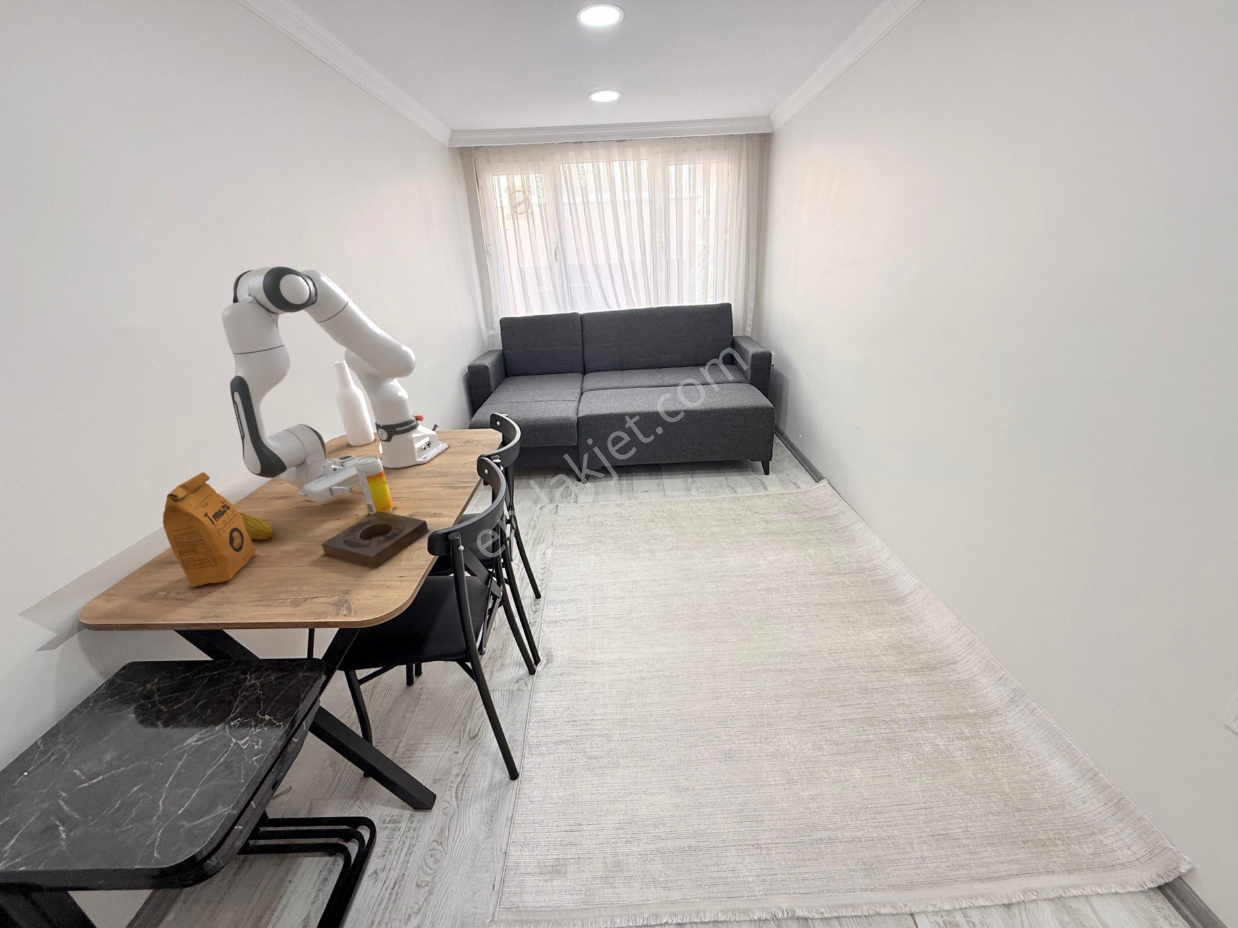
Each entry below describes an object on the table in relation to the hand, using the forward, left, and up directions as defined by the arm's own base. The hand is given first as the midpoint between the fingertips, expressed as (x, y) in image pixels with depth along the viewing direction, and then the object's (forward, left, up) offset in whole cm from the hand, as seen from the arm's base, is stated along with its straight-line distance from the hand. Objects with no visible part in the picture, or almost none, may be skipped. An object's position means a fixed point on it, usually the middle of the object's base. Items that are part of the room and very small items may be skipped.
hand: (365, 483), depth 129 cm
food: (+20, -22, -8) cm, 31 cm away
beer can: (0, +3, -8) cm, 9 cm away
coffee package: (+32, -9, -8) cm, 34 cm away
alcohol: (-39, -49, -8) cm, 63 cm away
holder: (+12, +15, -8) cm, 21 cm away
